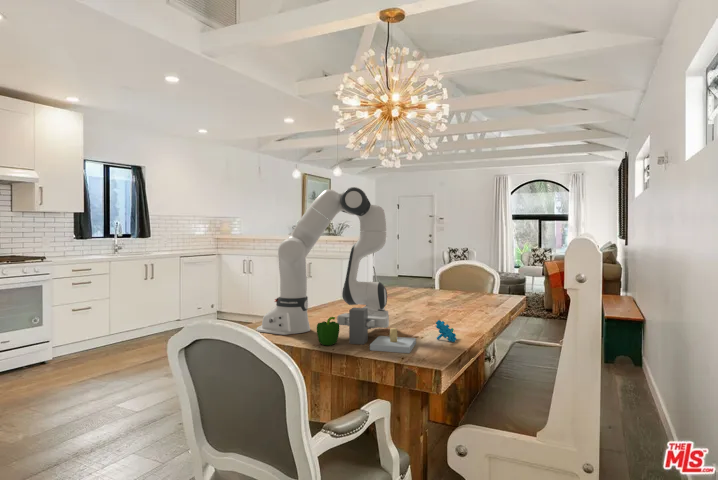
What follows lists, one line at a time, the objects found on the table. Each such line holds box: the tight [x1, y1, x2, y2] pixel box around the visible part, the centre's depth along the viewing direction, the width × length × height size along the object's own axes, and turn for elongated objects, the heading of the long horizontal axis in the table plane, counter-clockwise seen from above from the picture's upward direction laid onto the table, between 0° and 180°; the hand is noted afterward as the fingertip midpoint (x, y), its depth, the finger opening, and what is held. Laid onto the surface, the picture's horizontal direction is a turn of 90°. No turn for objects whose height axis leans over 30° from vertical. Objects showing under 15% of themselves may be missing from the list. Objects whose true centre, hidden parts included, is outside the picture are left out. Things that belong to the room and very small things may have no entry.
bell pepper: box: [316, 316, 340, 346], centre depth 166 cm, size 8×8×10 cm
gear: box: [435, 319, 457, 343], centre depth 173 cm, size 11×6×10 cm
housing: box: [348, 307, 369, 345], centre depth 169 cm, size 6×6×12 cm
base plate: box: [369, 327, 417, 354], centre depth 162 cm, size 14×14×6 cm
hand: (357, 324), depth 168 cm, fingers closed on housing, 6 cm apart
